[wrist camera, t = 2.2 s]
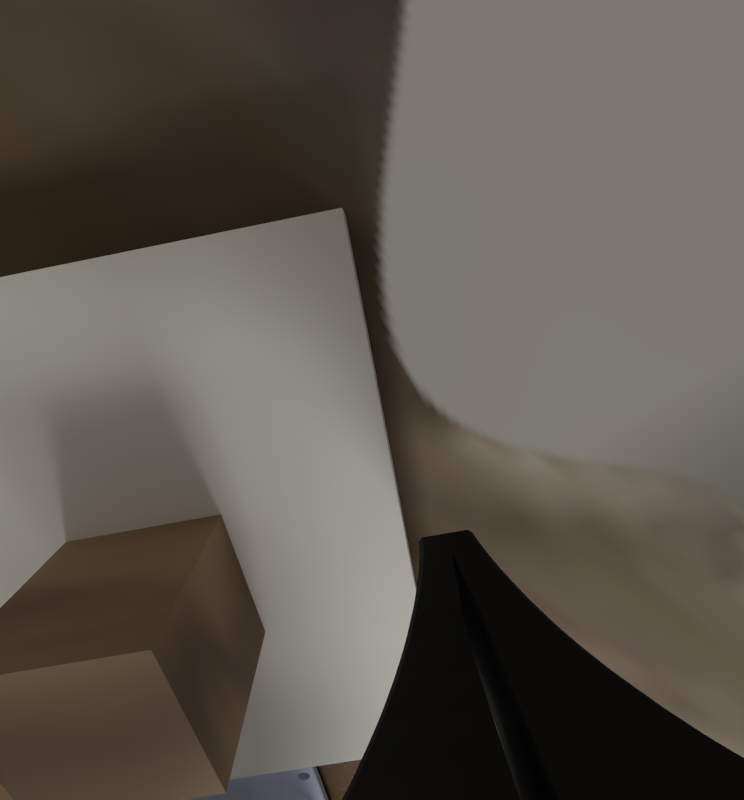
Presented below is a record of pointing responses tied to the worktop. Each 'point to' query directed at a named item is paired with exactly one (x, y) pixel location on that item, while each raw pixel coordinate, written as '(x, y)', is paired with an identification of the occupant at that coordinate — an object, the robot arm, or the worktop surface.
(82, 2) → the worktop surface
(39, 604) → the walnut block
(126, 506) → the trap deck
